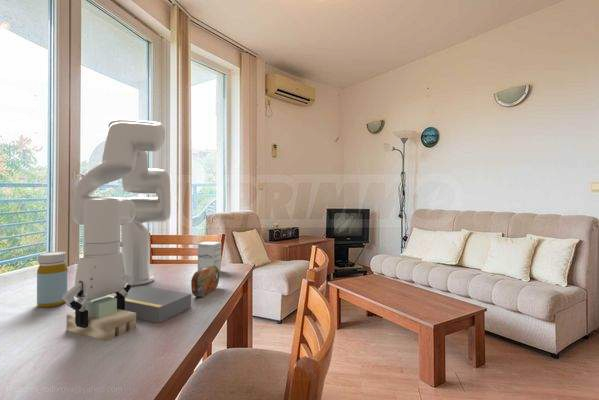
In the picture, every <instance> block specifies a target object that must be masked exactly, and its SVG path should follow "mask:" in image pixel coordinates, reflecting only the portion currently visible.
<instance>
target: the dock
mask: <svg viewBox="0 0 599 400" xmlns="http://www.w3.org/2000/svg"><path fill="white" fill-rule="evenodd" d="M127 294H128V295H127V297H125V311H130V312H135V313H136V319H139V320H141V321H142V320H143V321H147V322H151V323H156V324H160V323H162V322H164V321H166V320H168V319H171V318H173V317H174V316H177V315H179V314H181V313H183V312H185V311H186V310H189V309H191V308H192V293H188V292H182V291H181V292H180V291H175V290H169V289H163V288H157V287H151V286H144V285H137V286H133V287H132V288H130V290H129V291H128V293H127ZM115 296H116V294H115V293H113V294H110V295H107V297H112V298H114V297H115Z"/></svg>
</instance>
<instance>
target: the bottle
mask: <svg viewBox="0 0 599 400" xmlns="http://www.w3.org/2000/svg"><path fill="white" fill-rule="evenodd" d="M66 252H67V251H49V252H41V253H40V254H39V255H38V264H39V265H38V268H37V271H36V305H37V306H38V307H40V308H42V309H43V308H52V307H53V308H54V307H58V306H62V305H63V304H65V303H66V302H65V300H64V299H63V295H64V294H65V293H66V292H68V266H67V260H66V259H67V253H66Z"/></svg>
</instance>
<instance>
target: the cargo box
mask: <svg viewBox="0 0 599 400" xmlns="http://www.w3.org/2000/svg"><path fill="white" fill-rule="evenodd" d="M85 310H88V316H90V317H94V318H99V319H100V318H102V317H105V316H107V315H110V314H113V313H115V312H117V298H112V297H107V296H104V297H100V298H97V299H94V300H91V301H90V303H89V304H88V306H87V308H86V309H85Z"/></svg>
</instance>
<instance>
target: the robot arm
mask: <svg viewBox="0 0 599 400" xmlns="http://www.w3.org/2000/svg"><path fill="white" fill-rule="evenodd" d="M106 133H107V134H106V137H105V143H104V147H103V148H104V149H103V153H102V156H101V157H102V159H101V162H100V163H99V164H98V165H95V167H93V168H92V169H90V170H89V171H88V172H87V173H85V175H84V176H82V178H80V180H79V181H78V183H77V184H76V187H75V191H74V194H73V198H72V204H71V212H70V213H71V218H72V219H73V222H74V223H76V224H77V225H80V226H83V246H82V247H83V255H81V256H79V258H78V261H77V265H76V269H75V270H76V271H75V278H74V286H72V288H70V289H69V290H67V292H66V293H65V294H64V295H63V299H64V300H65V303H66V305H67V306H68V307H69V308H71V309H72V310H74V312H75V324H76V326H77V327H81V328H87V327H88V310H85V309H86V308H87V306H88V304H89V303H90V301H91V300H94V299H97V298H100V297H104V296H107V295H112V294H116V296H115V297H114V298H117V309H120V310H125V297H127V295H128V294H127V293H128V291H129V290H130V289H131V287H132V286H133V287H135V286H142V285H146V284H149V283H151V282H153V281H154V280H155V275H153V274H150V273H151V272H150V271H151V270H150V266H151V265H150V264H151V263H150V262H151V259H150V257H151V256H150V255H151V252H150V251H151V234H150V232H149V230H148V228H147V227H146V226H145V225H144V224H146V223H165V222H168V221H169V220H170V218H171V206H172V205H171V180H170V179H171V178H170V175H169V173H168V171H167V170H165V169H160V168H149V164H148V163H149V161H148V160H149V157H148V154H147V152H158V151H159V150H160V149H161V147H162V146H163V145H164V143H165V140H166V131H165V126H164V125H163V124H162V123H161V122H157V121H152V120H151V121H150V120H140V119H139V120H137V119H127V118H115V119H111V120H110V121H108V123H107V132H106ZM120 179H121V183H122V188H123V190H124V191H123V192H125V193H127V194H132V195H155V196H156V197H151V196H150V197H146V196H138V197H137V196H131V197H123V196H120V197H119V196H92V195H93V193H94V192H95V191H96V190H97V189H99V188H100V187H102V186H104V185H106V184H108V183H109V184H110V183H112V182H115V181H118V180H120ZM75 298H76V300H75Z"/></svg>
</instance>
